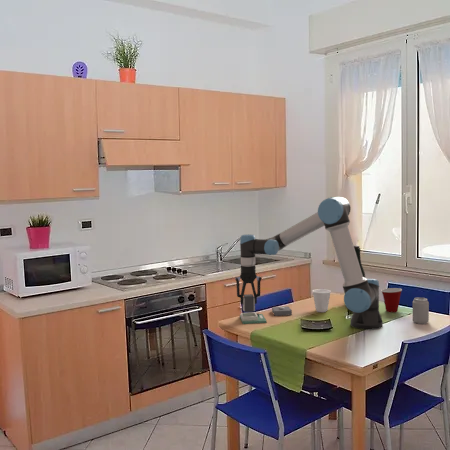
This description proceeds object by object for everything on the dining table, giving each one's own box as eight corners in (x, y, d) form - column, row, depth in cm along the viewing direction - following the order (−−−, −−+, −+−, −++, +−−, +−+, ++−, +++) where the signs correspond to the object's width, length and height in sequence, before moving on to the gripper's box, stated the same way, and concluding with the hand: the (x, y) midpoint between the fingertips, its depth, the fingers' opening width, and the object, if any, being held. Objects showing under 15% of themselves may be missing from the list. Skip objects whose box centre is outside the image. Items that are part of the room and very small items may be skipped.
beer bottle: (368, 301, 311) (368, 244, 308) (363, 305, 302) (363, 247, 299) (350, 300, 316) (349, 244, 313) (345, 304, 307) (344, 246, 304)
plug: (253, 311, 276) (253, 296, 275) (245, 311, 275) (244, 296, 274) (252, 309, 280) (252, 294, 280) (243, 309, 280) (243, 294, 279)
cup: (330, 313, 287) (330, 293, 286) (311, 313, 289) (311, 292, 288) (331, 309, 297) (330, 289, 296) (312, 308, 299) (312, 288, 298)
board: (266, 322, 273) (266, 316, 272) (242, 323, 272) (242, 318, 271) (262, 315, 287) (262, 310, 286) (239, 316, 286) (239, 311, 285)
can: (429, 321, 268) (429, 297, 267) (427, 325, 261) (428, 300, 260) (413, 319, 271) (413, 296, 270) (411, 323, 265) (411, 299, 263)
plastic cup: (385, 307, 297) (385, 286, 296) (405, 310, 290) (405, 288, 289) (377, 311, 288) (377, 289, 287) (397, 314, 281) (397, 292, 280)
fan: (291, 315, 286) (291, 309, 286) (274, 315, 286) (274, 310, 285) (288, 310, 295) (288, 305, 295) (272, 311, 294) (272, 306, 294)
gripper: (263, 263, 280) (264, 307, 282) (230, 264, 278) (231, 309, 281) (266, 265, 272) (266, 311, 274) (231, 266, 271) (232, 312, 273)
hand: (248, 310), depth 277 cm, fingers closed on plug, 4 cm apart
